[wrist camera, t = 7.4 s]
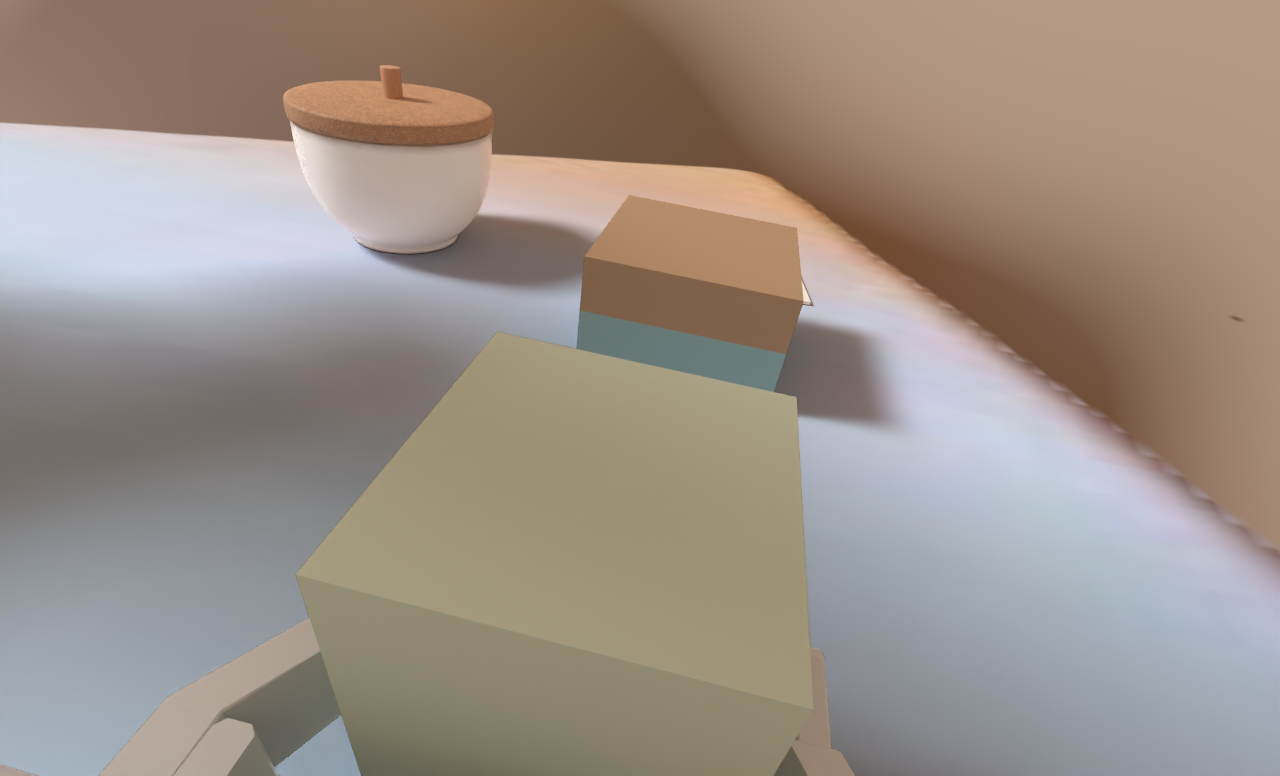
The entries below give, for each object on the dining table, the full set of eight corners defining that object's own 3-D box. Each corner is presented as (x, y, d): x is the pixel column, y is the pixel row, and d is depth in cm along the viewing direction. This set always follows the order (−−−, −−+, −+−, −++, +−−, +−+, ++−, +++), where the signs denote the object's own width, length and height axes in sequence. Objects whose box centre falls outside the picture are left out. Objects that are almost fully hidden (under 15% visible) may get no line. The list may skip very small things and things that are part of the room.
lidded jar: (342, 284, 30) (308, 86, 25) (289, 214, 37) (253, 44, 32) (525, 255, 37) (528, 90, 31) (452, 199, 43) (445, 54, 38)
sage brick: (400, 897, 11) (295, 574, 6) (499, 659, 15) (496, 331, 10) (651, 974, 11) (813, 709, 5) (685, 708, 15) (796, 397, 9)
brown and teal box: (575, 367, 27) (584, 256, 24) (617, 288, 34) (629, 195, 31) (767, 410, 26) (803, 301, 23) (769, 320, 34) (796, 228, 30)
